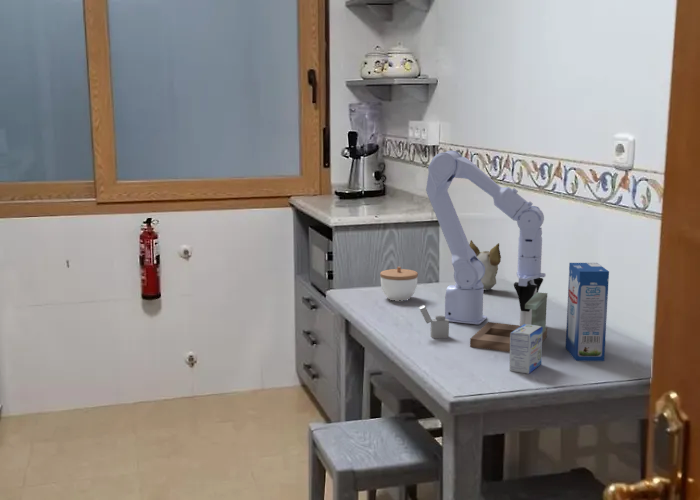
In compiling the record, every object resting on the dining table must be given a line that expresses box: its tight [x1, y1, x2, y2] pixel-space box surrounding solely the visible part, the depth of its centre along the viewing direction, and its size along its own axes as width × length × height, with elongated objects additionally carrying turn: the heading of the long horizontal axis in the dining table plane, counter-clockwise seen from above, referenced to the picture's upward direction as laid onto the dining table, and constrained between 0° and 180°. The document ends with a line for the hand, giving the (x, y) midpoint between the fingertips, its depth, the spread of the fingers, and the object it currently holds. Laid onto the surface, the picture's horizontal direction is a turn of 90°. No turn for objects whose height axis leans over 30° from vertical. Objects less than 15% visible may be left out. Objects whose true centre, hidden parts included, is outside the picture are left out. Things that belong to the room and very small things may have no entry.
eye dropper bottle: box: [519, 279, 537, 326], centre depth 209 cm, size 4×6×12 cm
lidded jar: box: [379, 266, 419, 302], centre depth 238 cm, size 11×11×9 cm
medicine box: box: [509, 324, 543, 375], centre depth 176 cm, size 8×4×9 cm, turn 148°
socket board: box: [469, 291, 548, 353], centre depth 195 cm, size 14×16×11 cm
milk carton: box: [565, 262, 610, 362], centre depth 185 cm, size 10×6×20 cm, turn 178°
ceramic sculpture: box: [469, 239, 502, 290], centre depth 249 cm, size 11×9×15 cm
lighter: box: [418, 304, 450, 339], centre depth 199 cm, size 7×2×8 cm, turn 98°
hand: (527, 308), depth 210 cm, fingers closed on eye dropper bottle, 5 cm apart
